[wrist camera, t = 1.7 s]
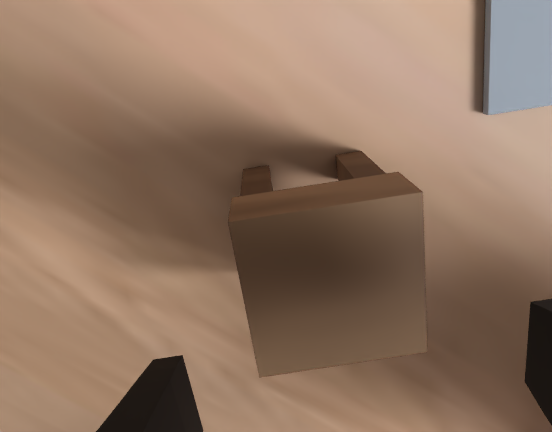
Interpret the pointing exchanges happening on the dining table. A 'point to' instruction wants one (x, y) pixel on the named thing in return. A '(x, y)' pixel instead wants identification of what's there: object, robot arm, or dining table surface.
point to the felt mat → (517, 55)
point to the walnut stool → (331, 267)
